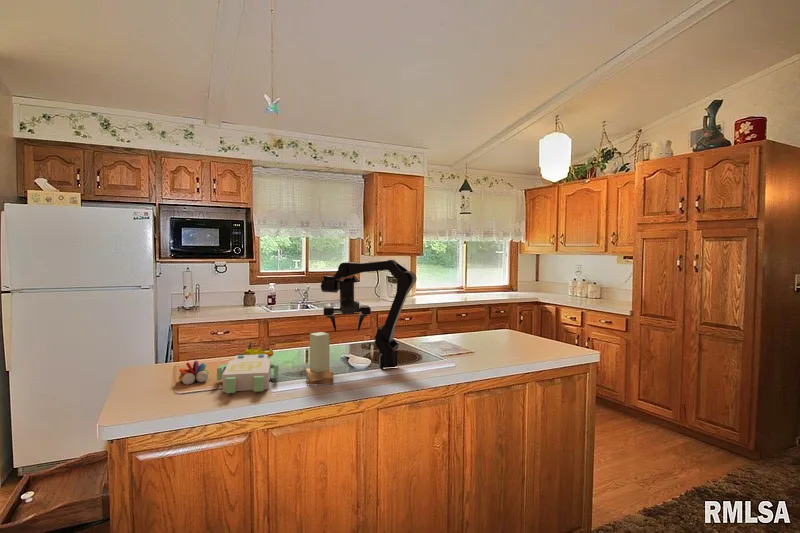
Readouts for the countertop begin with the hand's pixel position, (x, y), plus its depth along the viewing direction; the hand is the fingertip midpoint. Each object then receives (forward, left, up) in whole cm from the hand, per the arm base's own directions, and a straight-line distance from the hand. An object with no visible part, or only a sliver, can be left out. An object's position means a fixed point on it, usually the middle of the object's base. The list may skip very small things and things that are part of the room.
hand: (346, 331), depth 176 cm
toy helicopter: (+37, 0, -13) cm, 39 cm away
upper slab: (+11, +20, -12) cm, 26 cm away
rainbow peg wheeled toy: (+55, +13, -13) cm, 58 cm away
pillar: (+11, +19, -9) cm, 24 cm away
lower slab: (+11, +20, -14) cm, 27 cm away
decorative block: (+36, +18, -13) cm, 42 cm away
